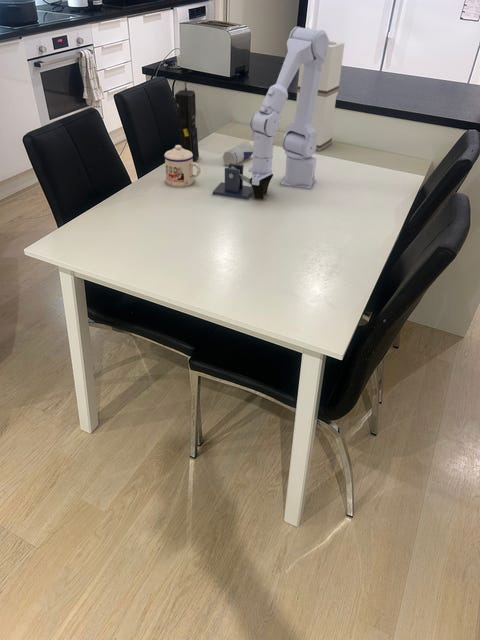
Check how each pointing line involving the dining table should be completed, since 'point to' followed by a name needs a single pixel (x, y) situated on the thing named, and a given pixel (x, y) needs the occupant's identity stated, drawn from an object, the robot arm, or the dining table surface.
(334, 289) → the dining table surface
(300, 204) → the dining table surface
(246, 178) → the lever
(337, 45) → the tall banded cream box
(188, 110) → the portable radio
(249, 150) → the energy drink
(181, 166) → the teacup with lid
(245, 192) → the bracket
